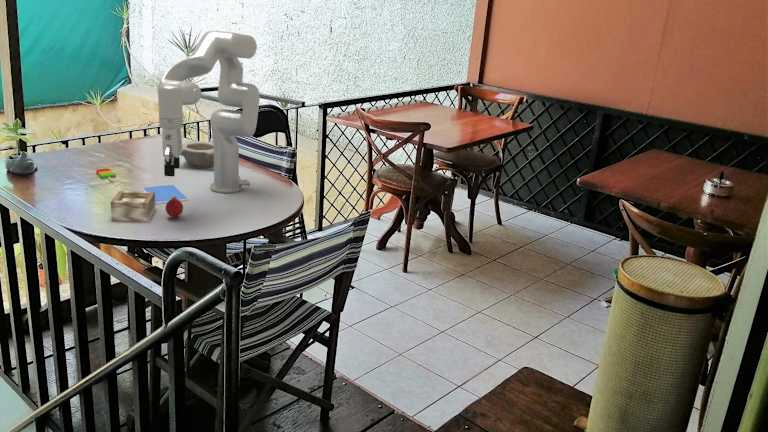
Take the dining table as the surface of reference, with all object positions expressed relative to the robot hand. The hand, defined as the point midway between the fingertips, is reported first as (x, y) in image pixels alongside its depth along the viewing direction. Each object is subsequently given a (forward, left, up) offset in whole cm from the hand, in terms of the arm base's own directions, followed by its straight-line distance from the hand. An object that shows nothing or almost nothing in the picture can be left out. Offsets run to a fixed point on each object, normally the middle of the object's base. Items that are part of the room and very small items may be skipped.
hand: (172, 172), depth 232 cm
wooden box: (+14, -2, -17) cm, 22 cm away
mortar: (0, -66, -17) cm, 69 cm away
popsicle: (+34, -45, -18) cm, 59 cm away
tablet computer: (+8, -26, -18) cm, 32 cm away
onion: (0, 0, -17) cm, 17 cm away
